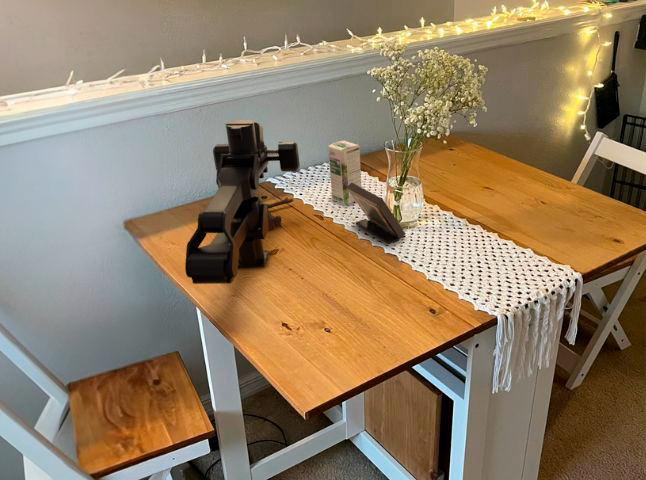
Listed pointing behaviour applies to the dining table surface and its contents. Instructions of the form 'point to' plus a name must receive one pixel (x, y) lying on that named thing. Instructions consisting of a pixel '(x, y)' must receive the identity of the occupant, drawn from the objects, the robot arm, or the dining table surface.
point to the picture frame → (376, 210)
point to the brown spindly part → (277, 219)
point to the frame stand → (377, 231)
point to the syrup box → (344, 169)
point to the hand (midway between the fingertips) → (264, 147)
